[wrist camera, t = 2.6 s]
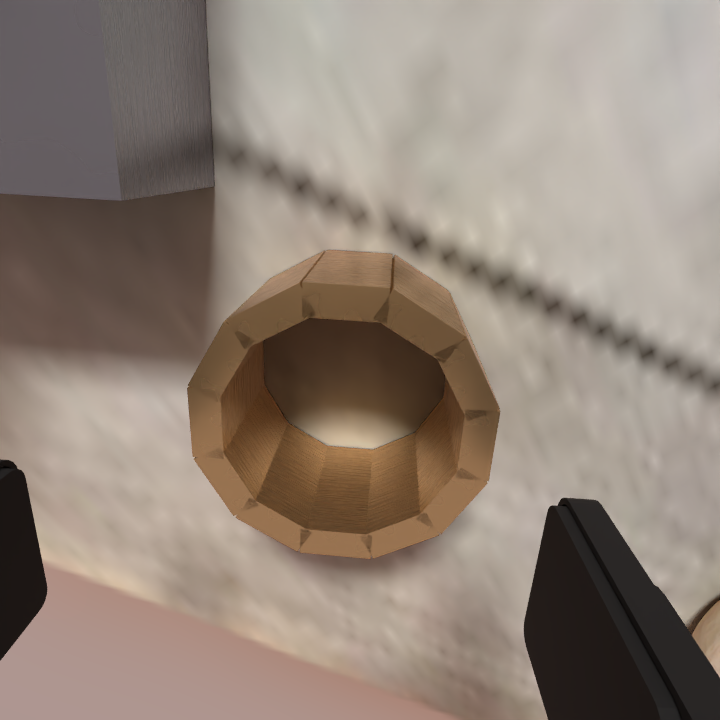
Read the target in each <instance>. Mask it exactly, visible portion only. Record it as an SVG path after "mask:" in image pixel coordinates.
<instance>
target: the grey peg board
mask: <svg viewBox="0 0 720 720" xmlns="http://www.w3.org/2000/svg"><path fill="white" fill-rule="evenodd" d="M208 187H214V168H213V149H212V129H211V110H210V90H209V71H208V51H207V32H206V12H205V0H0V194H16V195H33V196H50V197H67V198H84V199H101V200H117V201H123V200H130V199H136V198H143V197H149V196H156V195H162V194H169V193H175V192H182V191H188V190H195V189H201V188H208Z"/></svg>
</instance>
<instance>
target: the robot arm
mask: <svg viewBox="0 0 720 720" xmlns="http://www.w3.org/2000/svg"><path fill="white" fill-rule="evenodd" d="M46 595H47V583H46V578H45V573H44V568H43V563H42V558H41V553H40V548H39V543H38V538H37V533H36V528H35V523H34V518H33V513H32V508H31V503H30V498H29V493H28V488H27V483H26V478H25V475H24V473H23V472H22V471H21V470H19V469H17V466H16V465H15V464H14V462H12V461H9V460H0V660H1V659H2V658H3V657H4V655H5V654H6V653H7V651H8V650H9V649H10V648H11V646H12V645H13V644H14V642H15V641H16V640H17V639H18V637H19V636H20V635H21V634H22V632H23V631H24V630H25V628H26V627H27V626H28V625H29V623H30V622H31V621H32V619H33V618H34V617H35V616H36V614H37V613H38V612H39V610H40V609H41V608H42V606H43V604H44V602H45V599H46ZM524 638H525V643H526V647H527V651H528V654H529V657H530V661H531V664H532V667H533V671H534V674H535V677H536V681H537V684H538V687H539V690H540V694H541V697H542V700H543V704H544V707H545V710H546V714H547V717H548V720H720V677H719V675H718V674H717V672H716V671H715V669H714V668H713V666H712V665H711V663H710V662H709V660H708V659H707V657H706V656H705V654H704V653H703V651H702V650H701V648H700V647H699V645H698V644H697V642H696V641H695V639H694V638H693V636H692V635H691V633H690V632H689V630H688V629H687V627H686V626H685V624H684V623H683V621H682V620H681V618H680V617H679V615H678V614H677V612H676V611H675V609H674V608H673V606H672V605H671V603H670V602H669V600H668V599H667V597H666V596H665V595H664V594H663V592H662V591H661V590H660V589H659V588H658V587H657V586H655V585H654V584H653V583H652V581H651V580H650V578H649V577H648V575H647V574H646V572H645V570H644V569H643V567H642V566H641V564H640V563H639V561H638V560H637V558H636V557H635V555H634V554H633V552H632V551H631V549H630V548H629V546H628V545H627V543H626V542H625V540H624V539H623V537H622V535H621V534H620V532H619V531H618V529H617V528H616V526H615V525H614V523H613V522H612V520H611V519H610V517H609V516H608V514H607V513H606V511H605V510H604V508H603V507H602V505H601V504H600V503H599V502H598V501H596V500H589V499H574V498H562V499H561V500H560V502H559V504H558V506H550V507H549V509H548V512H547V517H546V521H545V526H544V531H543V536H542V540H541V545H540V550H539V554H538V559H537V564H536V569H535V573H534V578H533V583H532V588H531V592H530V597H529V602H528V607H527V611H526V616H525V621H524Z"/></svg>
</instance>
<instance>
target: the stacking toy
mask: <svg viewBox="0 0 720 720" xmlns="http://www.w3.org/2000/svg"><path fill="white" fill-rule="evenodd" d="M692 636H693V638H694V639H695V641H696V642H697V644H698V645H699V647H700V648H701V650H702V651H703V653H704V654H705V656H706V657H707V659H708V660H709V662H710V663H711V665H712V666H713V668H714V669H715V671H716V672H717V674H718V675H719V677H720V600H719V601H718V602H717V603H716V604H715V605H714V606H713V607H711V609H710V610H709V611H708V612H707V613H706V614H705V615H704V616H703V618H702V619H701V620H700V622H699V623H698V625H697V627H696V628H695V630H694V632H693V634H692Z"/></svg>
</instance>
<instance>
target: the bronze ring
mask: <svg viewBox="0 0 720 720" xmlns="http://www.w3.org/2000/svg"><path fill="white" fill-rule="evenodd" d="M308 318H321V319H335V320H350V321H365V322H379V323H381V324H383V325H384V326H386V327H388V328H389V329H391V330H392V331H394V332H395V333H397V334H398V335H400V336H401V337H403V338H405V339H406V340H408V341H409V342H411V343H412V344H414V345H415V346H417V347H419V348H420V349H422V350H423V351H425V352H426V353H428V354H429V355H431V356H432V357H434V358H436V359H437V360H438V362H439V364H440V366H441V368H442V370H443V372H444V374H445V376H446V378H445V386H444V394H443V398H442V400H441V401H440V402H439V403H438V405H437V406H436V407H435V408H434V410H433V411H432V412H431V413H430V415H429V416H428V417H427V418H426V420H425V421H424V422H423V423H422V425H421V426H420V427H419V428H418V430H417V431H416V432H415V433H413V434H411V435H408V436H406V437H403V438H401V439H398V440H396V441H393V442H391V443H388V444H386V445H383V446H381V447H379V448H376V449H374V450H370V449H358V448H345V447H333V446H326V445H325V444H323V443H321V442H320V441H318V440H316V439H315V438H313V437H311V436H310V435H308V434H306V433H304V432H303V431H301V430H299V429H298V428H296V427H294V426H293V425H291V424H289V423H288V422H287V420H286V419H285V417H284V415H283V414H282V412H281V411H280V409H279V407H278V406H277V404H276V402H275V401H274V399H273V398H272V396H271V394H270V393H269V391H268V390H267V388H266V386H265V385H264V345H263V340H265V339H267V338H269V337H271V336H273V335H275V334H277V333H279V332H281V331H284V330H286V329H288V328H290V327H292V326H294V325H296V324H298V323H300V322H302V321H304V320H306V319H308ZM188 386H189V387H188V388H187V392H188V404H189V417H190V429H191V441H192V454H193V457H195V458H194V460H195V462H196V463H197V465H198V466H199V467H200V469H201V470H202V472H203V473H204V475H205V476H206V477H207V479H208V480H209V482H210V483H211V485H212V486H213V487H214V489H215V490H216V492H217V493H218V494H219V496H220V497H221V499H222V500H223V502H224V503H225V504H226V506H227V507H228V509H229V510H230V512H231V513H232V514H233V516H234V515H237V516H236V518H237V519H239V520H241V521H243V522H244V523H246V524H248V525H250V526H252V527H253V528H255V529H257V530H259V531H261V532H262V533H264V534H266V535H268V536H270V537H271V538H273V539H275V540H277V541H279V542H281V543H282V544H284V545H286V546H288V547H290V548H291V549H293V550H295V551H298V550H299V549H300V553H310V554H321V555H332V556H343V557H354V558H365V559H371V556H372V557H373V559H374V558H376V557H379V556H382V555H385V554H388V553H391V552H393V551H396V550H399V549H402V548H405V547H408V546H410V545H413V544H416V543H419V542H422V541H425V540H427V539H430V538H433V537H436V536H439V533H441V534H442V533H443V531H444V530H445V529H446V528H447V527H448V526H449V525H450V524H451V523H452V522H453V521H454V519H455V518H456V517H457V516H458V515H459V514H460V513H461V512H462V511H463V510H464V508H465V507H466V506H467V505H468V504H469V503H470V502H471V501H472V500H473V499H474V497H475V496H476V495H477V494H478V493H479V492H480V491H481V490H482V489H483V488H484V487H485V485H486V484H487V481H489V476H490V470H491V464H492V458H493V452H494V446H495V440H496V434H497V428H498V422H499V416H500V410H499V409H500V408H499V406H498V403H497V401H496V398H495V396H494V393H493V391H492V388H491V386H490V383H489V381H488V378H487V376H486V373H485V371H484V368H483V366H482V363H481V361H480V359H479V356H478V354H477V351H476V349H475V346H474V344H473V342H472V340H471V338H470V335H469V333H468V331H467V329H466V327H465V324H464V322H463V320H462V318H461V316H460V314H459V311H458V309H457V307H456V305H455V303H454V300H453V298H452V296H451V294H450V292H449V291H448V290H447V289H445V288H444V287H442V286H441V285H439V284H438V283H436V282H435V281H433V280H432V279H430V278H429V277H427V276H426V275H424V274H423V273H421V272H420V271H418V270H417V269H415V268H414V267H412V266H411V265H410V264H408V263H407V262H405V261H404V260H402V259H401V258H399V257H398V256H396V255H394V257H393V258H392V254H387V253H371V252H355V251H339V250H327V251H323V252H321V253H319V254H317V255H315V256H313V257H311V258H309V259H307V260H305V261H303V262H301V263H299V264H297V265H296V266H294V267H292V268H290V269H288V270H286V271H284V272H282V273H280V274H278V275H276V276H274V277H272V278H270V279H269V280H268V281H267V282H266V283H265V284H264V285H263V286H262V287H260V288H259V289H258V290H257V291H256V292H255V293H254V294H253V295H252V296H251V297H250V298H249V299H248V300H247V301H245V302H244V303H243V304H242V305H241V306H240V307H239V308H238V309H237V310H236V311H235V312H234V313H233V314H232V315H231V316H229V317H228V318H227V319H226V320H225V321H224V322H223V324H222V326H221V328H220V329H219V331H218V333H217V335H216V336H215V338H214V340H213V342H212V344H211V345H210V347H209V349H208V351H207V352H206V354H205V356H204V358H203V359H202V361H201V363H200V365H199V366H198V368H197V370H196V372H195V373H194V375H193V377H192V379H191V380H190V382H189V384H188Z"/></svg>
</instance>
